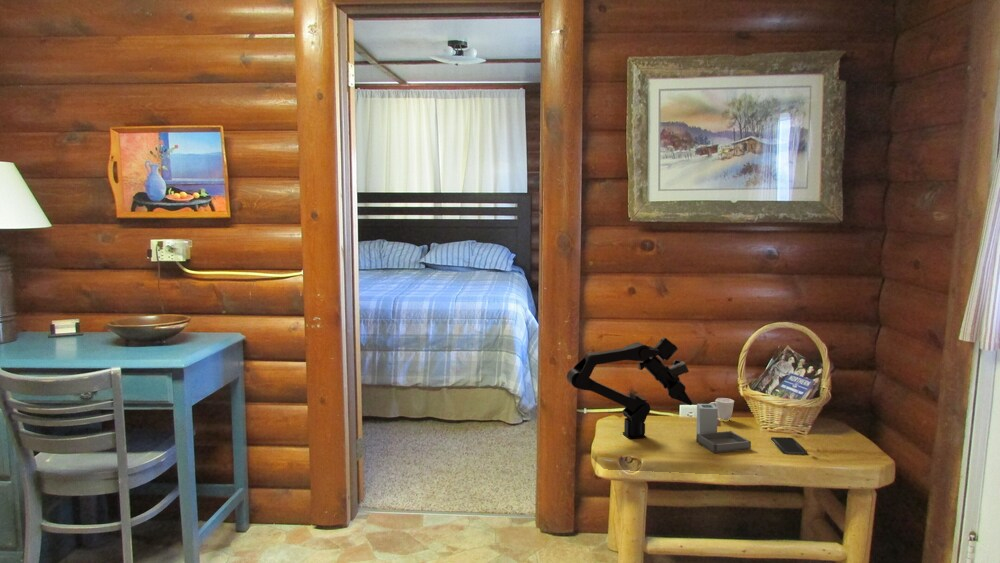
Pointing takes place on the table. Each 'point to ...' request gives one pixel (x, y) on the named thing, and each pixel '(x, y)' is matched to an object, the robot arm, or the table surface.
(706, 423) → the sleeve
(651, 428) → the table surface
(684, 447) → the table surface
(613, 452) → the table surface
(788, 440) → the phone
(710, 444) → the tray
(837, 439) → the table surface
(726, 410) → the cup
